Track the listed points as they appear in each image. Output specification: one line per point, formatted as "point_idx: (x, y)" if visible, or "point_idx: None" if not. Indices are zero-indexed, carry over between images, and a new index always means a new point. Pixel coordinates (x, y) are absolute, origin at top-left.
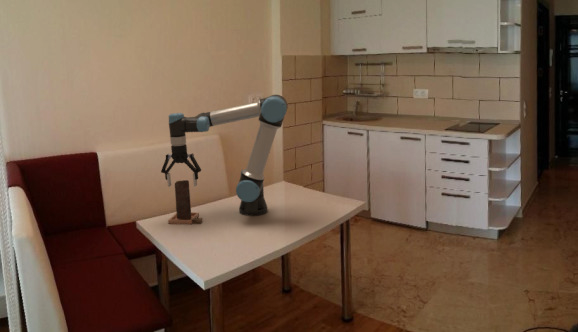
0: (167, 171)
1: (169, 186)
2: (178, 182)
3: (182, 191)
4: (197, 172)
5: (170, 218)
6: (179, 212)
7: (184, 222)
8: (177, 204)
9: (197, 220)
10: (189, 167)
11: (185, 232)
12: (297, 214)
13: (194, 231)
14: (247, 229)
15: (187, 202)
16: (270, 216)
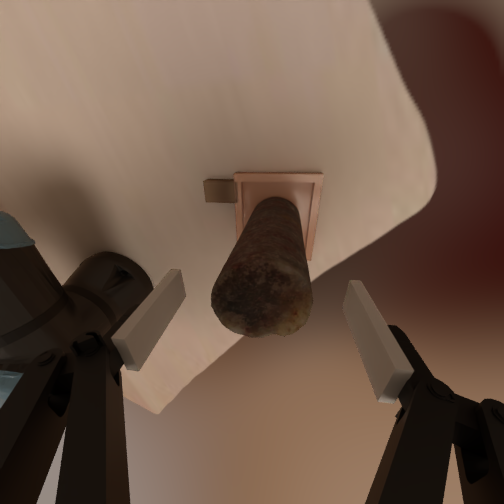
0: (420, 407)
1: (349, 281)
2: (287, 308)
3: (251, 237)
4: (82, 352)
5: (318, 195)
6: (282, 203)
7: (260, 173)
8: (290, 216)
9: (214, 181)
10: (102, 423)
11: (226, 70)
12: None
13: (197, 89)
14: (46, 134)
15: (245, 226)
16: (63, 248)
